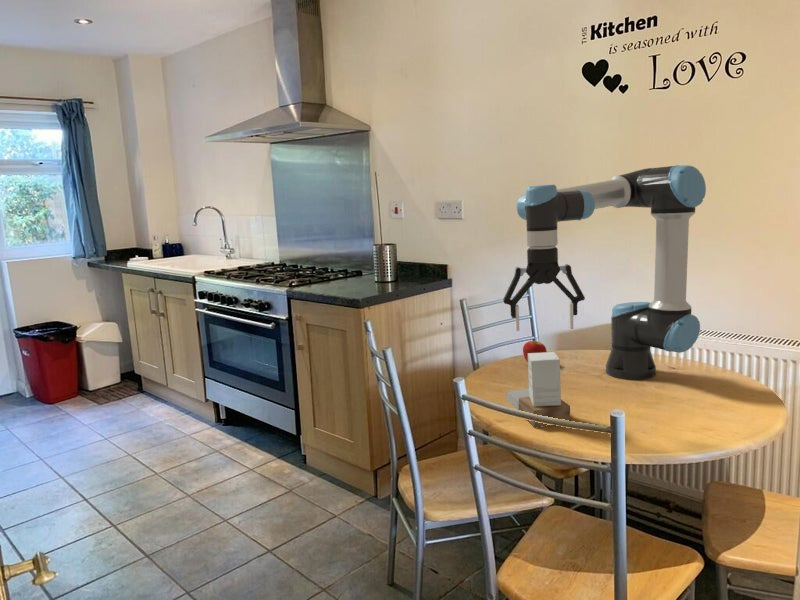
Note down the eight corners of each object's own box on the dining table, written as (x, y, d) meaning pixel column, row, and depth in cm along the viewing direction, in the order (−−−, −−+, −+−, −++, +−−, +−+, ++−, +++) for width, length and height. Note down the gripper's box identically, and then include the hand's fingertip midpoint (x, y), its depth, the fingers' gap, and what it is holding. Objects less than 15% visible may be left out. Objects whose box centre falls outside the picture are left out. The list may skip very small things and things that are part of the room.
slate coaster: (536, 397, 169) (535, 387, 169) (549, 408, 161) (548, 397, 160) (507, 401, 168) (506, 391, 167) (518, 411, 159) (518, 401, 159)
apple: (522, 361, 205) (521, 334, 204) (545, 361, 204) (545, 334, 202) (523, 368, 197) (523, 340, 196) (548, 367, 196) (547, 339, 194)
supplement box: (556, 396, 155) (555, 351, 152) (561, 406, 147) (560, 359, 145) (528, 397, 155) (527, 352, 153) (532, 407, 148) (531, 360, 146)
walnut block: (553, 410, 158) (552, 393, 157) (570, 424, 148) (570, 405, 148) (519, 415, 156) (518, 397, 155) (534, 429, 147) (533, 410, 146)
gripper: (589, 243, 147) (590, 323, 150) (491, 248, 149) (494, 327, 153) (596, 245, 139) (597, 330, 143) (493, 251, 142) (496, 334, 146)
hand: (544, 328), depth 148 cm, fingers open, 13 cm apart
